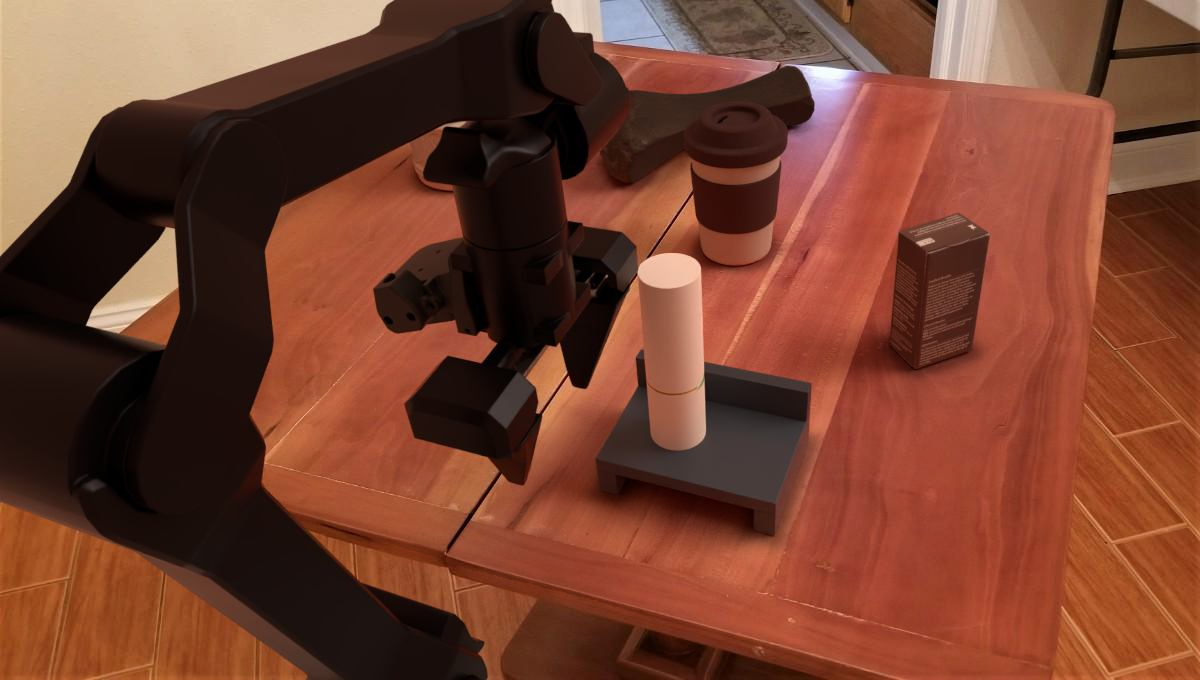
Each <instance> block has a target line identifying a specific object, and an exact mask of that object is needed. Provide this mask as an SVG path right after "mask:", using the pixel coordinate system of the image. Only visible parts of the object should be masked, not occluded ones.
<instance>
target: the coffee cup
mask: <svg viewBox="0 0 1200 680" xmlns="http://www.w3.org/2000/svg"><path fill="white" fill-rule="evenodd" d="M788 137H789V131H788V126H787V125H785V123H784V122H783V121H782V120H780V119H779V118H778V117H776V116H773V115H771V113H770V111H769V110H768V109H767V108H765V107H764V106H762V105H759V104H756V103H751V102H743V101H735V102H725V103H720V104H717V105H714V106H711V107H710V108H708V109H706V110H705V111H703V113H702V114H701V115H700V117H699V118H697V119H696V120H694V121H693V122H691V123H690V124H689V125H688V126H687V128H686V129H685V132H684V148H685V149H684V151H685V153H686V155H687V156H688V157H689V158H690V159H691V162H690V177H691V179H690V180H691V186H692V197H693V204H694V214H695V218H696V220H697V222H698V230H699V231H698V232H699V239H700V247H701V250H702V252H703V254H704V255H705V257H707V258H708V259H709V260H711V261H713V262H715V263H717V264H721V265H726V266H745V265H750V264H753V263H755V262H758V261H760V260H761V259H763V258H764V257H766V256H767V254H768V253H769V252H770V250H771V248H772V243H773V241H772V240H773V233H774V232H773V230H774V223H775V222H774V221H775V218H776V216H777V213H778V202H779V195H780V183H781V174H782V161H781V155H783V153H784V152H785V151H786V150H787V147H788V141H789V140H788Z"/></svg>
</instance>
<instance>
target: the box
mask: <svg viewBox="0 0 1200 680" xmlns="http://www.w3.org/2000/svg"><path fill="white" fill-rule="evenodd" d="M990 237H991V233H990V232H989V231H988V230H986V229H985V228H983V227H981V226H980V225H978V224H977V223H975V222H973V220H971V219H969V218H968V217H966V216H965V215H963V214H962V213H960V212H956V213H953V214H949V215H946V216H943V217H940V218H937V219H933V220H929V221H927V222H923V223H920V224H917V225H914V226H910V227H907V228H903V229H899V230H898V239H897V249H896V250H897V251H896V263H895V275H894V285H893V295H892V307H891V318H890V331H889V342H888V343H889V346H891V347H892V349H893V350H894V351H895V352H897V354H898V355H899V356H900V357H901V358H902V359H903V360H904V361H906V362H907V364H909V366H911V367H913V369H915V370H917V369H920V368H924V367H927V366H929V365H932V364H935V363H938V362H941V361H944V360H948V359H949V358H953V357H955V356H958V355H961V354H964V353H968V352H971V351H972V350H973V345H974V339H975V332H976V326H977V320H978V315H979V314H978V312H979V306H980V301H981V295H982V289H983V281H984V275H985V268H986V263H987V256H988V251H989V243H990Z"/></svg>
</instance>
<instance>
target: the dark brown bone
mask: <svg viewBox="0 0 1200 680" xmlns="http://www.w3.org/2000/svg"><path fill="white" fill-rule="evenodd" d="M629 92H630V111H629V114H628V116H627V119H626V121H625V122H624V124H623V125H622V127H621V128H620V129H619V130H618V131H617V133H616V134H615V135H614V136H613V137H612V138H611V139H610V141H609V142H608V143H607V144H606V145H605V146H604V147H603V149H602V150H601V151H600V152H599V154H600V156H601V158H602V163H603V166H604V168H605V170H606V171H607V174H609V176H611V177H612V178H613V179H615V180H617V181H619V182H621V183H623V184H628V185H629V184H633V183H635V182H637V181H639V180H640V179H642V178H643V177H645V176H646V175H648V174H649V173H650V172H651V171H652V170H654V169H656V168H657V167H658V166H660V165H661V164H662V163H664V162H665V161H668V159H669V158H671V157H673V156H675V155H676V154H677V153H679V152H681V151H682V150H683V151H684V150H685V148H684V132H685V129H686V128H687V126H688V125H689V124H690V123H691V122H693V121H694V120H696V119H697V118H699V117H700V115H701V114H702V113H703V111H705V110H706V109H708V108H710V107H711V106H714V105H717V104H720V103H725V102H735V101H743V102H751V103H756V104H759V105H762V106H764V107H765V108H767V109H768V110H769V111H770V113H771V115H773V116H776V117H778V118H779V119H780V120H782V121H783V122H784V123H785V125H786V126H799V125H802V124H804V123H806V122H808V121H809V120H810V119H811V118H812V116H813V115H814V112H815V109H816V108H815V106H816V104H815V100H814V98H813V95H812V91H811V87H810V85H809V82H808V80H807V79H806V77H805V75H804V73H803V72H802V70H801V69H800V68H799V67H798V66H796V65H795V66H794V65H785V66H782V67H779V68H777V69H774V70H771V71H769V72H767V73H764V74H763V75H760V76H758V77H756V78H753V79H749V80H747V81H744V82H742V83H739V84H736V85H733V86H728V87H726V88H721V89H716V90H711V91H705V92H698V93H697V92H696V93H667V92H657V91H649V90H639V89H629Z"/></svg>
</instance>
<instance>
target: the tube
mask: <svg viewBox="0 0 1200 680" xmlns="http://www.w3.org/2000/svg"><path fill="white" fill-rule="evenodd" d="M637 281H638V282H637V283H638V295H639V307H640V317H641V318H640V320H641V332H642V345H643V350H644V358H645V369H646V381H647V394H648V406H649V419H650V431H651V437H652V439H653V440H654V442H655V443H656V444H658V445H659V446H661V447H662V448H665V449H668V450H676V451H680V450H686V449H690V448H692V447H695V446H696V445H698V444H699V443H700V442H701V441H702V440H703V439H704V437H705V434H706V415H705V382H704V362H705V352H704V326H703V325H704V321H703V319H704V318H703V286H702V284H703V283H702V267H701V264H700V262H699V261H698V260H697V259H696V258H694V257H693V256H690V255H687V254H684V253H680V252H679V253H678V252H666V253H660V254H655V255H652V256H650V257H648V258H646V259H645V260H643V261H642V262H641V263H640V264H639V265H638V271H637Z"/></svg>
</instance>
